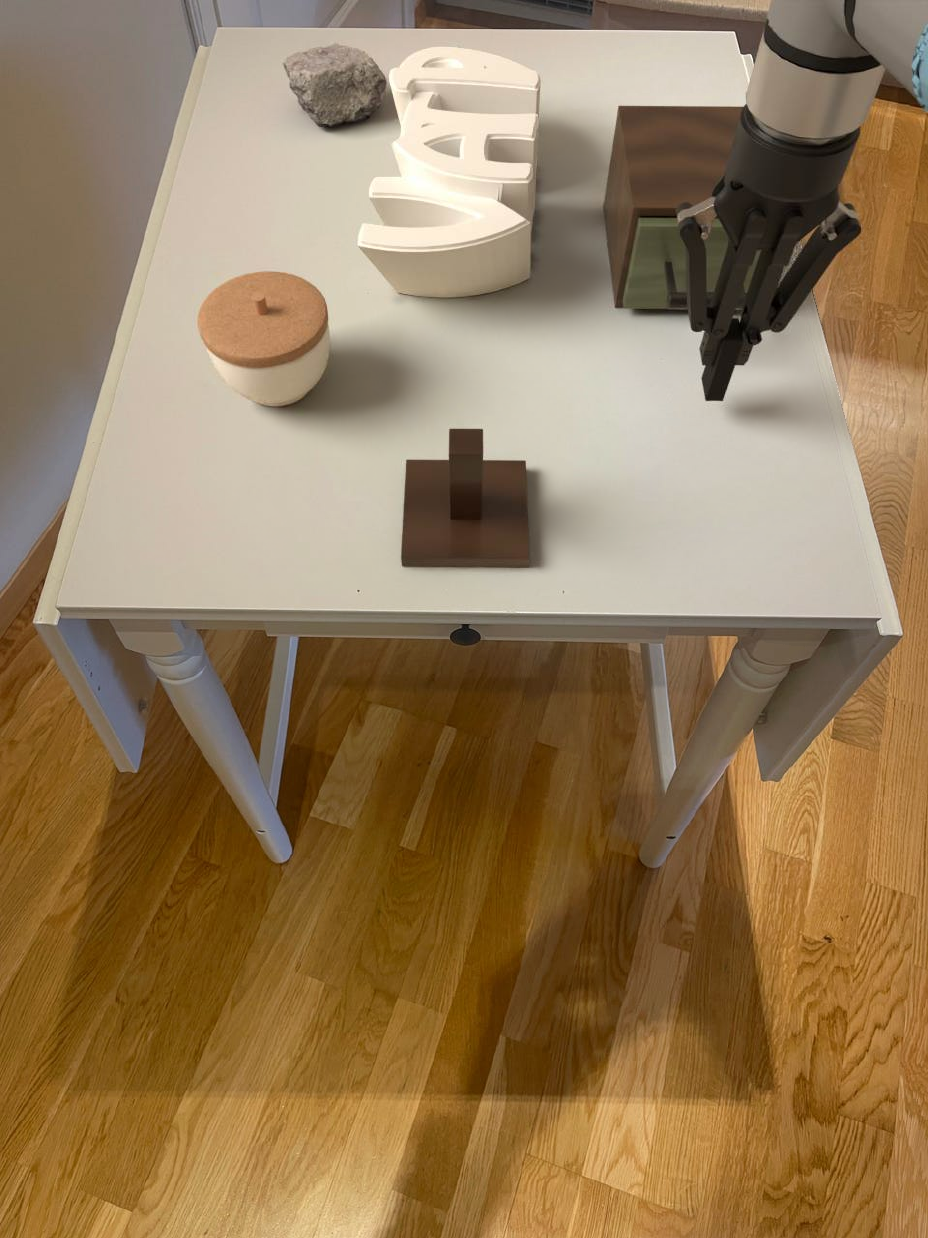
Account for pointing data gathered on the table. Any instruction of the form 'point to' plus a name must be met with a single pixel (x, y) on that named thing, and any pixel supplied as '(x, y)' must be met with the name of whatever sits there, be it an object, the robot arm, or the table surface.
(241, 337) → the trinket box
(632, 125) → the cabinet
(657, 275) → the drawer
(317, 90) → the rock
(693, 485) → the table surface
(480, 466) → the stand
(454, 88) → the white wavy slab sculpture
